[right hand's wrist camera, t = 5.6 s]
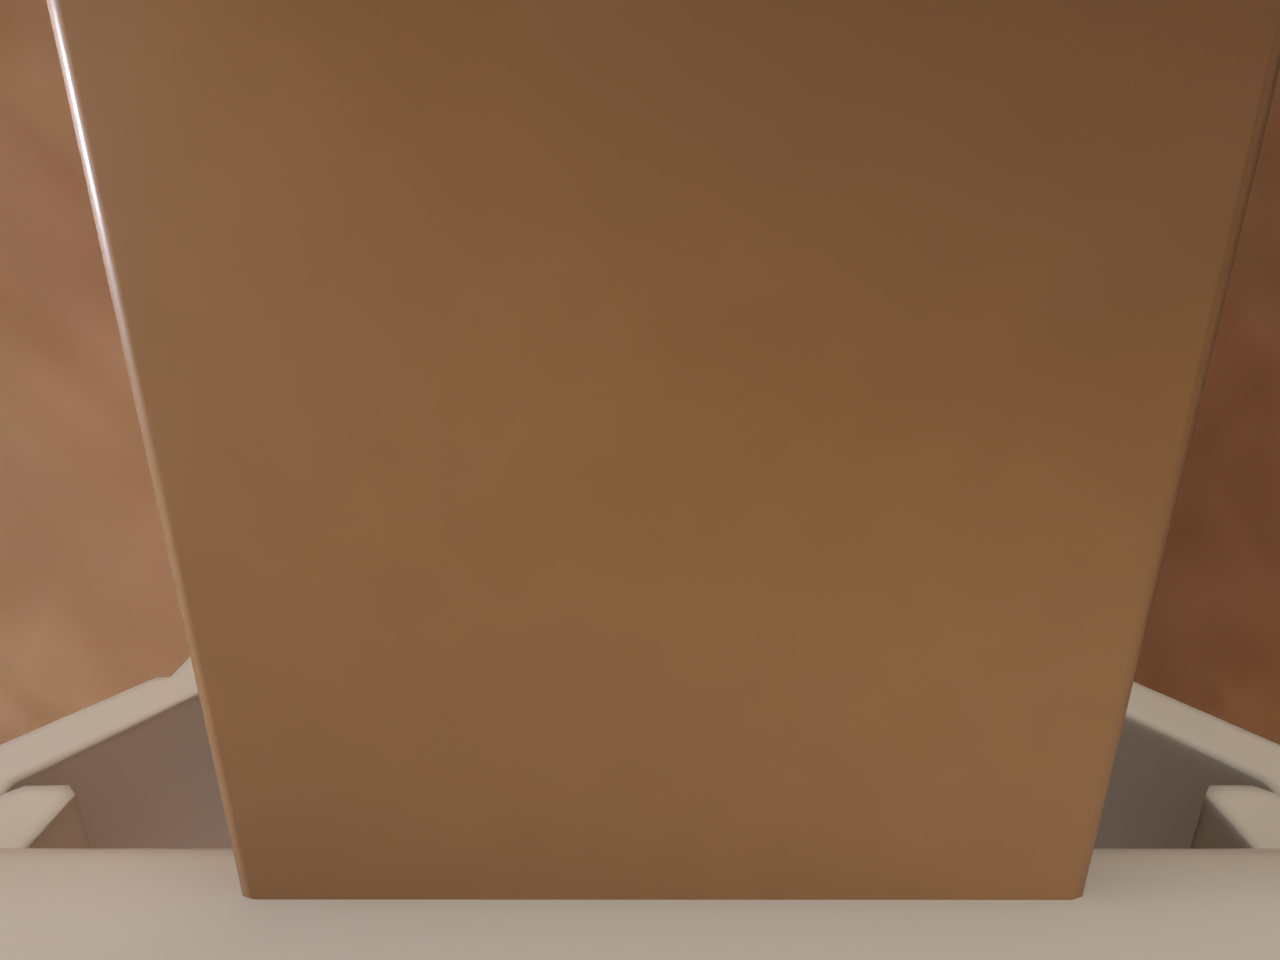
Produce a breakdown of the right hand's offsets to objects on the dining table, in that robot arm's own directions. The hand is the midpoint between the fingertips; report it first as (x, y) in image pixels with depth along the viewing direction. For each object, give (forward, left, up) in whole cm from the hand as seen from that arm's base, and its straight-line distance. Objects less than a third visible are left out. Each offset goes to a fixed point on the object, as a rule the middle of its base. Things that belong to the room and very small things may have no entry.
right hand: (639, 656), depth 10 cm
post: (+3, -27, -4) cm, 28 cm away
